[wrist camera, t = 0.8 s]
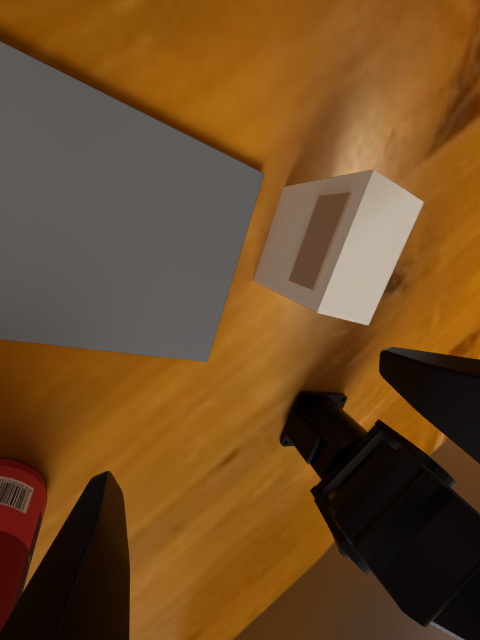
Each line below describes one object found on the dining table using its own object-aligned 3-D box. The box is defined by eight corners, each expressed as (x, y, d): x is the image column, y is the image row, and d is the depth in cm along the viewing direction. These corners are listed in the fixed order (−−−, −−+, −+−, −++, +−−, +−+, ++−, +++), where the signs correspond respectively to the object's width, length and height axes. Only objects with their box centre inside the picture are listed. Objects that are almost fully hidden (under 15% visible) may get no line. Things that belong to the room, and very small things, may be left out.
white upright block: (324, 207, 21) (424, 202, 14) (293, 291, 22) (368, 325, 15) (281, 186, 19) (371, 167, 12) (251, 280, 20) (314, 312, 14)
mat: (260, 174, 18) (264, 173, 17) (204, 358, 21) (206, 361, 21) (-69, 12, 11) (-79, 1, 10) (-76, 325, 14) (-84, 330, 14)
